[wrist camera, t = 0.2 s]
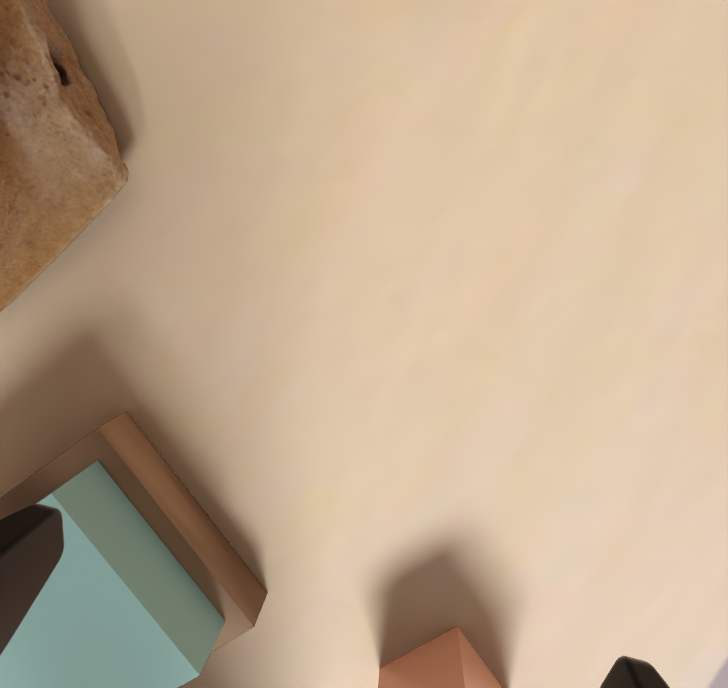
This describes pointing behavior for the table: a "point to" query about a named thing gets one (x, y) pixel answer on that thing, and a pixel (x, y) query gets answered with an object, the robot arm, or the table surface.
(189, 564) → the tower base
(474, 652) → the terracotta cube
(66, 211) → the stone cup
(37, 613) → the tower top
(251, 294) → the table surface
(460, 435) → the table surface
